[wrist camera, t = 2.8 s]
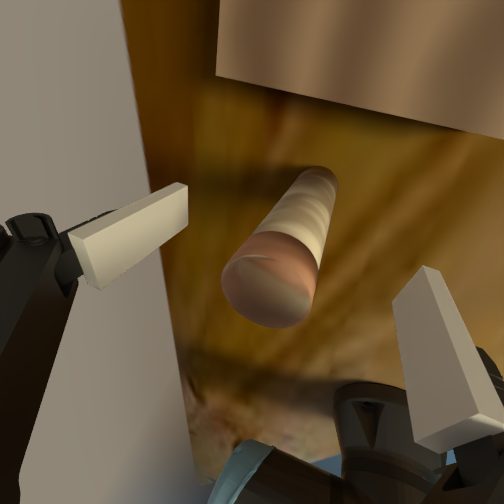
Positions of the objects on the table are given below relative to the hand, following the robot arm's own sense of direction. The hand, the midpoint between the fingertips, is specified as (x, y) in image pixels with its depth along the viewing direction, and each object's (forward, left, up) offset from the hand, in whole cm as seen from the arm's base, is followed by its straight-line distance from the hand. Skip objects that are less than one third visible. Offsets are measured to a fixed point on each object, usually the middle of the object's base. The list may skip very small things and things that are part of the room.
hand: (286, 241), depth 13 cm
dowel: (0, 0, -12) cm, 12 cm away
